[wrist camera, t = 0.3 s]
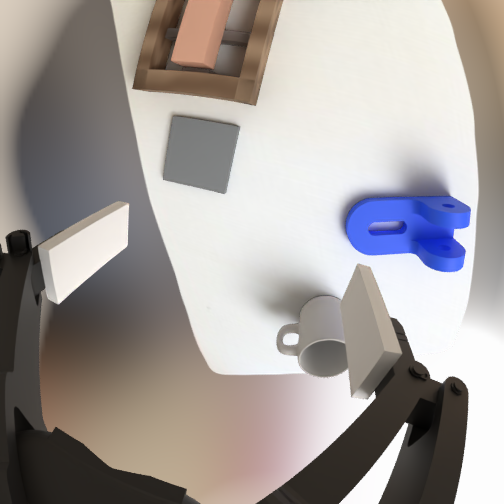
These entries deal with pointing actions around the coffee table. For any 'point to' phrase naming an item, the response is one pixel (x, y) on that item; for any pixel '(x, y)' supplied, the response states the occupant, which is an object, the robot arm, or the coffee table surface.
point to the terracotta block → (201, 33)
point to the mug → (318, 338)
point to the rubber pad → (200, 153)
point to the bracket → (411, 228)
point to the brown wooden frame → (200, 80)
